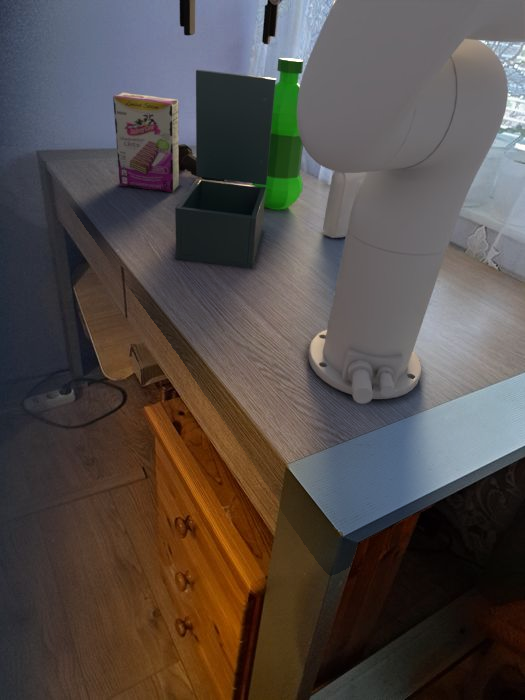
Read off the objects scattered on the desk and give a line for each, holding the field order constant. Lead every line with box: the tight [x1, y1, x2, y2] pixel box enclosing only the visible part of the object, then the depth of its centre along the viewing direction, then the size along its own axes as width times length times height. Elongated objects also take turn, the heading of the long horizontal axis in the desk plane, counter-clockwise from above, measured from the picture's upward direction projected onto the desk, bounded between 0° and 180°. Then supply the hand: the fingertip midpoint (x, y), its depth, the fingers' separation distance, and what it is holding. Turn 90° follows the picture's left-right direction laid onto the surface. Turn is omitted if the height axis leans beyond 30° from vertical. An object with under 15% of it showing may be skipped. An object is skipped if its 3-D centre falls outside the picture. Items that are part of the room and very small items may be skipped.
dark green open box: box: [174, 178, 266, 269], centre depth 76 cm, size 15×12×8 cm
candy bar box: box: [112, 92, 180, 193], centre depth 94 cm, size 11×5×16 cm, turn 84°
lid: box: [195, 69, 277, 185], centre depth 77 cm, size 15×12×6 cm
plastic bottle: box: [251, 57, 304, 211], centre depth 89 cm, size 10×10×25 cm
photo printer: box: [322, 171, 367, 239], centre depth 84 cm, size 10×4×12 cm, turn 124°
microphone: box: [178, 143, 226, 182], centre depth 105 cm, size 6×6×20 cm
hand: (227, 39), depth 60 cm, fingers open, 9 cm apart
